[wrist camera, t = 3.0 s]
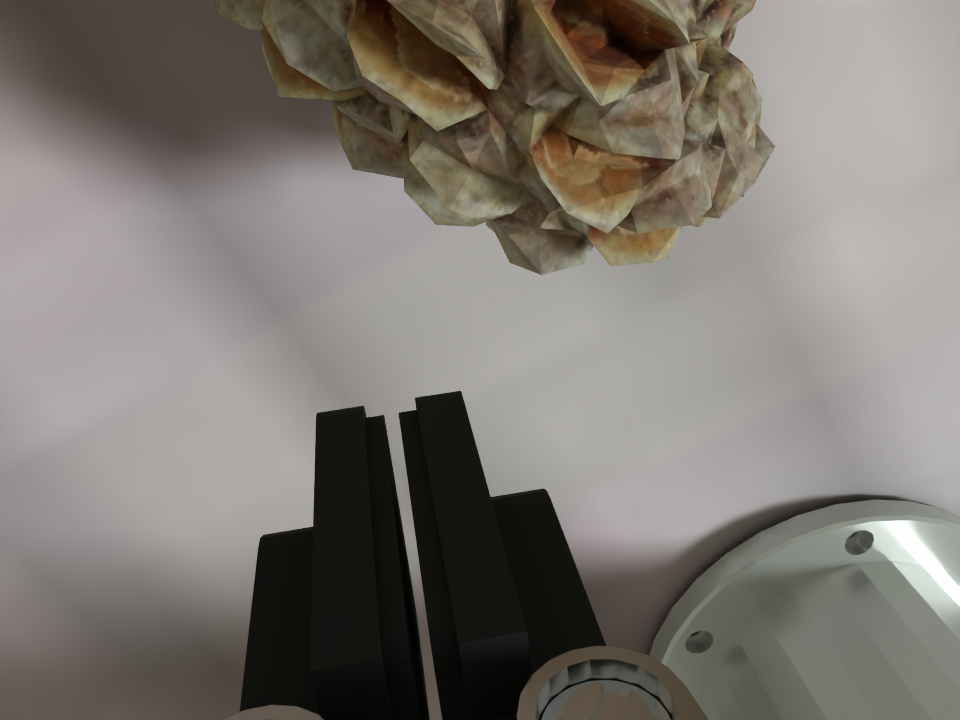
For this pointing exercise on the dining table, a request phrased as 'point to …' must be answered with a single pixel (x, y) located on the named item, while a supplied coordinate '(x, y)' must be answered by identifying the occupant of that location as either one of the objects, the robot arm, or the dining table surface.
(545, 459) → the dining table surface
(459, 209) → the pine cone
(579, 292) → the dining table surface
